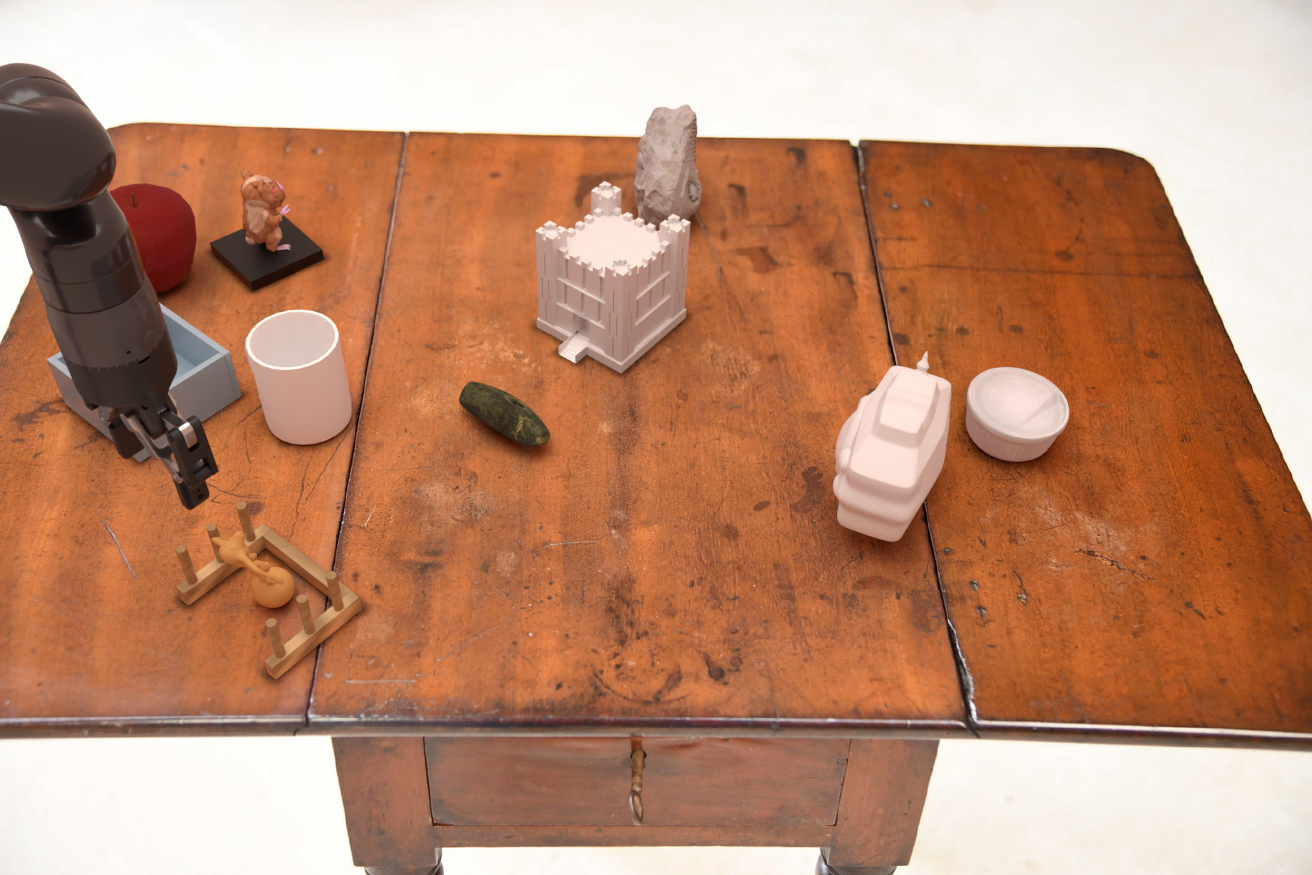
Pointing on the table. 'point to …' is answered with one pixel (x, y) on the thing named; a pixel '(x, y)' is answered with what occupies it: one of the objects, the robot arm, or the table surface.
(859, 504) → the white tiered block
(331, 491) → the table surface
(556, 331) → the castle model
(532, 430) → the decorative stone
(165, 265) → the apple
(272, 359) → the mug
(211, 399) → the light blue open box
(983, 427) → the ramekin
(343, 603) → the drying rack
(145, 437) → the robot arm
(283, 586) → the figurine
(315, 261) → the figurine
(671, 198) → the fossil
